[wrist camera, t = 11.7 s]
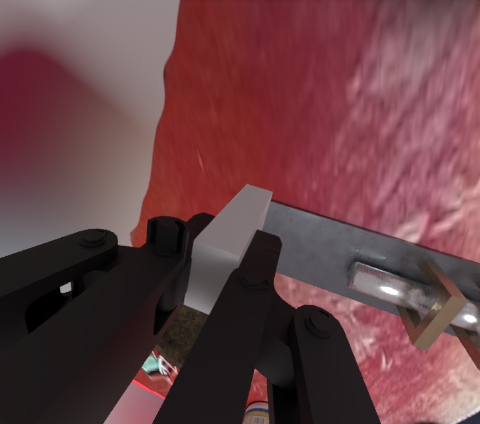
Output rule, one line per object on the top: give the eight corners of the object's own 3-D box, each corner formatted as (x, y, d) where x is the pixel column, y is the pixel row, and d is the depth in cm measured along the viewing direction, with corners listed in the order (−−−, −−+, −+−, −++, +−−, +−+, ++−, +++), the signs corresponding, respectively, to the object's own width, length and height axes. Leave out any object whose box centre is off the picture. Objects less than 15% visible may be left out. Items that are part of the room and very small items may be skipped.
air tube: (346, 273, 45) (347, 293, 41) (357, 256, 42) (359, 276, 38) (476, 318, 41) (490, 344, 38) (498, 302, 39) (514, 329, 35)
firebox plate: (265, 197, 44) (254, 217, 36) (540, 282, 37) (607, 332, 29) (248, 259, 50) (235, 288, 42) (482, 342, 43) (523, 398, 35)
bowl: (261, 281, 52) (250, 316, 43) (246, 350, 60) (234, 391, 52) (169, 254, 56) (141, 281, 47) (167, 322, 65) (144, 355, 56)
